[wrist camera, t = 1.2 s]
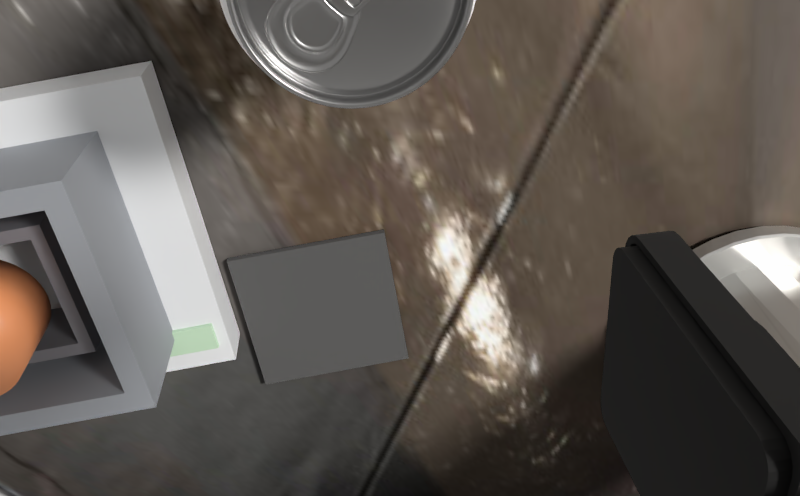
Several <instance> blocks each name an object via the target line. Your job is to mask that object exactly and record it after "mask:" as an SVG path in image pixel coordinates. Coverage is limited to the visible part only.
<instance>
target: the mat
mask: <svg viewBox="0 0 800 496" xmlns="http://www.w3.org/2000/svg"><path fill="white" fill-rule="evenodd" d="M227 264H228V267H229V270H230V273H231V277H232V280H233V283H234V286H235V289H236V292H237V295H238V299H239V302H240V305H241V308H242V311H243V314H244V318H245V321H246V324H247V327H248V330H249V333H250V336H251V340H252V343H253V346H254V349H255V352H256V355H257V359H258V362H259V365H260V368H261V371H262V374H263V377H264V381H265V384H272V383H277V382H282V381H288V380H293V379H299V378H304V377H310V376H315V375H320V374H326V373H331V372H337V371H342V370H347V369H353V368H358V367H364V366H369V365H375V364H380V363H385V362H391V361H396V360H402V359H407V358H408V353H407V347H406V342H405V337H404V332H403V327H402V321H401V316H400V311H399V306H398V301H397V295H396V290H395V285H394V280H393V275H392V269H391V264H390V259H389V254H388V249H387V243H386V238H385V233H384V230H378V231H373V232H367V233H362V234H357V235H351V236H346V237H340V238H335V239H329V240H324V241H319V242H313V243H308V244H302V245H297V246H291V247H286V248H281V249H275V250H270V251H264V252H259V253H253V254H248V255H243V256H237V257H232V258H227Z"/></svg>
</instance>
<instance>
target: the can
mask: <svg viewBox="0 0 800 496" xmlns="http://www.w3.org/2000/svg"><path fill="white" fill-rule="evenodd" d="M475 1H476V0H220V4H221V7H222V10H223V13H224V15H225V18H226V20H227V22H228V25H229V27H230V29H231V31H232V33H233V34H234V36H235V38H236V39H237V41H238V42H239V44H240V45H241V47H242V48H243V50H244V51H245V52H246V53H247V55H248V56H249V57H250V58H251V59H252V60H253V61H254V62H255V64H256V65H258V66H259V67H260V68H261V69H262V71H263V72H265V73H266V74H267V75H268V76H269V77H270V78H271V79H272V80H274V81H275V82H276V83H277V84H279V85H280V86H282V87H283V88H285V89H286V90H288V91H289V92H291V93H293V94H295V95H297V96H299V97H301V98H303V99H306V100H308V101H311V102H314V103H317V104H321V105H325V106H330V107H336V108H366V107H373V106H378V105H382V104H386V103H389V102H392V101H394V100H397V99H399V98H402V97H404V96H406V95H408V94H410V93H411V92H413V91H415V90H416V89H418V88H419V87H421V86H422V85H424V84H425V83H426V82H427V81H429V80H430V79H431V78H432V77H433V76H434V75H435V74H436V73H437V72H438V71H439V70H440V69H441V68H442V67H443V66H444V65H445V64H446V62H447V61H448V60H449V58H450V57H451V56H452V54H453V53H454V51H455V50H456V48H457V46H458V44H459V43H460V41H461V39H462V37H463V34H464V32H465V30H466V27H467V25H468V23H469V20H470V18H471V15H472V12H473V9H474V5H475Z"/></svg>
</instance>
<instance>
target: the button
mask: <svg viewBox="0 0 800 496" xmlns="http://www.w3.org/2000/svg"><path fill="white" fill-rule="evenodd" d="M50 319H51V304H50V300H49V298H48V295H47V293H46V292H45V290H44V288H43V287H42V286H41V284H40V283H39V282H38V281H37V280H36V279H35V278H34V277H33V276H32V275H30V274H29V273H28V272H26V271H25V270H23V269H22V268H20V267H18V266H16V265H14V264H11V263H9V262H6V261H2V260H0V396H1V395H3V394H4V393H6V392H8V391H9V390H10V389H12V388H13V387H14V386H15V385H16V383H17V382H18V381H19V379H20V377H21V376H22V374H23V372H24V370H25V368H26V366H27V364H28V363H29V361H30V359H31V357H32V355H33V353H34V352H35V350H36V348H37V346H38V344H39V342H40V340H41V339H42V337H43V335H44V333H45V331H46V329H47V327H48V325H49V323H50Z"/></svg>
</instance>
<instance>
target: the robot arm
mask: <svg viewBox="0 0 800 496" xmlns="http://www.w3.org/2000/svg"><path fill="white" fill-rule="evenodd" d="M601 411H602V416H603V419H604V423H605V425H606V427H607V429H608V431H609V433H610V435H611V437H612V439H613V441H614V444H615V446H616V448H617V450H618V452H619V454H620V456H621V458H622V460H623V462H624V464H625V466H626V468H627V470H628V472H629V474H630V476H631V478H632V480H633V482H634V484H635V486H636V488H637V490H638V492H639V494H640V496H800V228H798V227H792V226H760V227H755V228H749V229H744V230H738V231H735V232H732V233H729V234H726V235H723V236H721V237H718V238H715V239H712V240H710V241H708V242H706V243H704V244H702V245H700V246H699V247H697V248H695V249H693V250H692V249H691V248H690V247H689V246H688V245H687V244H686V243H685V241H684V240H683V239H682V238H681V237H680V236H679V235H678V234H677V233H676V232H674V231H665V232H657V233H649V234H640V235H632V236H630V237H629V238H628V240H627V242H626V246H625V247H622V248H617V249H616V250H615V252H614V256H613V265H612V276H611V287H610V298H609V310H608V321H607V332H606V344H605V355H604V366H603V378H602V389H601Z"/></svg>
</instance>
